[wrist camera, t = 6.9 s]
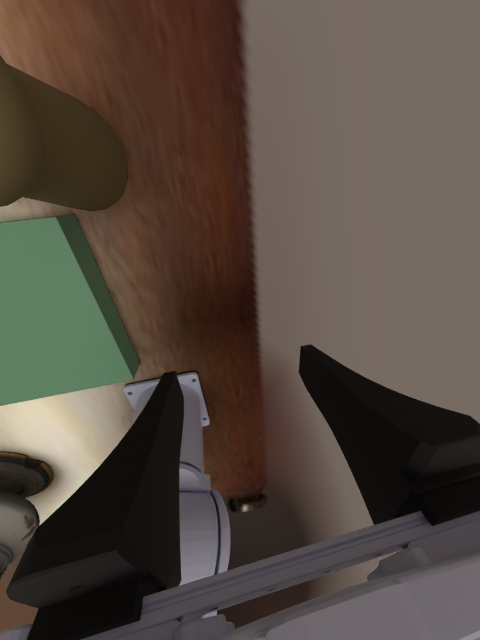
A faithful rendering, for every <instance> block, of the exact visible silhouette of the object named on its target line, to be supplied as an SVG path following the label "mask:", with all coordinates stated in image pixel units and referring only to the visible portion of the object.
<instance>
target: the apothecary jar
mask: <svg viewBox="0 0 480 640" xmlns="http://www.w3.org/2000/svg"><path fill="white" fill-rule="evenodd" d="M52 480H53V472H52V470H51V468H50V467H49V466H48V465H47V464H45V463H44V462H42V461H36V460H31V459H29V458H28V457H27V456H26V455H22V454H17V453H9V452H0V579H1V577H2V575H3V574H4V572H5V570H6V568H7V566H8V564H10V563H11V562H12V561H14V560H15V559H16V558H18V557H19V556H20V555H21V554H22V553H23V552H24V551H25V550H26V547H27V545H28V543H29V541H30V540H31V538H32V536H33V534H34V532H35V530H36V529H37V528H38V527H39V523H40V520H39V515H38V512H37V510H36V508H35V506H34V505H33V504H32V503H31V502H30V501H28V500H27V499H25V497H29V496H32V495H35V494H37V493H39V492H41V491H43V490H44V489H45V488H47V487H48V486H49V485H50V483H51V482H52Z"/></svg>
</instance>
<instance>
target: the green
mask: <svg viewBox="0 0 480 640" xmlns="http://www.w3.org/2000/svg"><path fill="white" fill-rule="evenodd" d="M139 363H140V362H139V360H138V358H137V356H136V353H135V351H134V349H133V346H132V344H131V342H130V339H129V337H128V335H127V333H126V330H125V328H124V326H123V323H122V321H121V319H120V316H119V314H118V312H117V310H116V307H115V305H114V303H113V300H112V298H111V296H110V293H109V291H108V289H107V287H106V284H105V282H104V280H103V277H102V275H101V273H100V270H99V268H98V266H97V264H96V261H95V259H94V257H93V254H92V252H91V250H90V247H89V245H88V243H87V241H86V238H85V236H84V234H83V231H82V229H81V227H80V225H79V222H78V220H77V218H76V215H75V214H74V215H65V216H55V217H46V218H36V219H27V220H17V221H8V222H0V406H2V405H7V404H12V403H17V402H23V401H28V400H33V399H38V398H43V397H48V396H53V395H58V394H64V393H69V392H74V391H79V390H84V389H89V388H94V387H99V386H104V385H110V384H115V383H120V382H125V381H130V380H134V378H135V375H136V372H137V369H138V366H139Z"/></svg>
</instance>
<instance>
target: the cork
mask: <svg viewBox="0 0 480 640" xmlns="http://www.w3.org/2000/svg"><path fill="white" fill-rule="evenodd" d="M127 179H128V174H127V160H126V157H125V154H124V151H123V148H122V145H121V143H120V141H119V140H118V138H117V136H116V135H115V133H114V131H113V130H112V128H111V127H110V125H109V124H108V123H107V122H106V121H105V120H104V119H103V118H102V117H101V116H100V115H99V114H98V113H97V112H96V111H95V110H94V109H92V108H90V107H89V106H87V105H86V104H84V103H82V102H81V101H79V100H78V99H76V98H74V97H72V96H70V95H68V94H66V93H64V92H62V91H60V90H58V89H56V88H54V87H52V86H50V85H48V84H46V83H44V82H42V81H40V80H38V79H36V78H34V77H32V76H30V75H28V74H26V73H24V72H22V71H20V70H18V69H16V68H14V67H12V66H10V65H8V64H6V63H5V61H4V60H3V58H2V57H1V56H0V206H7V205H9V204H11V203H13V202H15V201H17V200H18V199H20V198H21V197H25V198H30V199H34V200H39V201H44V202H48V203H53V204H58V205H62V206H67V207H72V208H76V209H82V210H88V211H96V210H102V209H106V208H108V207H110V206H111V205H113V204H115V203H116V202H117V201H118V200H119V198H120V197H121V195H122V194H123V193H124V190H125V186H126V183H127Z"/></svg>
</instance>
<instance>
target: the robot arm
mask: <svg viewBox="0 0 480 640" xmlns="http://www.w3.org/2000/svg"><path fill="white" fill-rule="evenodd" d="M299 374H300V376H301V378H302V380H303V383H304V385H305V387H306V388H307V390H308V392H309V393H310V395H311V397H312V399H313V400H314V402H315V403H316V405H317V407H318V408H319V410H320V411H321V413H322V414H323V416H324V418H325V419H326V421H327V423H328V425H329V426H330V428H331V430H332V432H333V434H334V436H335V438H336V440H337V442H338V444H339V446H340V448H341V450H342V452H343V454H344V456H345V458H346V460H347V463H348V465H349V467H350V469H351V472H352V474H353V476H354V478H355V480H356V483H357V485H358V487H359V489H360V492H361V494H362V497H363V499H364V501H365V504H366V506H367V509H368V511H369V514H370V516H371V518H372V521H373V524H374V525H373V526H370V527H367V528H363V529H360V530H357V531H354V532H351V533H347V534H344V535H341V536H338V537H335V538H331V539H328V540H325V541H322V542H318V543H315V544H312V545H309V546H305V547H302V548H299V549H296V550H293V551H289V552H286V553H283V554H280V555H277V556H274V557H270V558H267V559H264V560H260V561H257V562H254V563H251V564H248V565H244V566H241V567H238V568H235V569H231V570H228V571H227V568H228V562H229V554H230V525H229V518H228V513H227V509H226V506H225V504H224V502H223V499H222V497H221V495H220V493H219V492H218V491H217V490H215V489H211V488H210V475H207V474H204V457H203V431H202V427H203V426H207V425H209V424H210V420H209V416H208V413H207V409H206V405H205V401H204V397H203V393H202V390H201V386H200V382H199V378H198V374H197V373H196V372H190V373H185V374H180V375H177V374H176V371H172V372H167V373H164V374H163V375H162V377H161V378H160V379H155V380H150V381H145V382H140V383H135V384H130V385H126V386H125V387H124V393H125V395H126V396H127V398H128V400H129V402H130V404H131V406H132V408H133V410H134V414H133V417H132V421H131V425H130V428H129V431H128V432H127V433H126V435H125V436H124V437H123V439H122V440H121V441H120V442H119V444H118V445H117V446H116V447H115V449H114V450H113V451H112V452H111V453H110V455H109V456H108V457H107V458H106V459H105V461H104V462H103V463H102V464H101V465H100V466H99V467H98V469H97V470H96V471H95V472H94V473H93V474H92V475H91V476H90V477H89V478H88V479H87V480H86V481H85V482H84V483H83V485H82V486H81V487H80V488H79V489H78V490H77V491H76V492H75V493H74V494H73V495H72V496H71V497H70V498H69V499H68V500H67V501H66V502H65V503H63V504H62V505H61V506H60V507H59V508H58V509H57V510H56V511H55V512H54V513H53V514H52V515H51V516H50V517H49V518H48V519H46V520H45V521H44V522H43V523H42V524H41V525H40V526H39V527H38V528H37V529H36V530H35V532H34V534H33V536H32V538H31V540H30V541H29V543H28V545H27V547H26V550H25V552H24V554H23V556H22V558H21V560H20V562H19V564H18V567H17V569H16V571H15V573H14V575H13V577H12V579H11V582H10V584H9V586H8V588H7V590H6V592H7V595H8V597H9V599H11V600H14V601H16V602H19V603H23V604H26V605H29V606H33V607H36V608H39V609H38V612H37V615H36V617H35V620H34V623H33V624H28V625H21V626H17V627H14V628H10V629H7V630H4V631H0V640H474V639H477V638H479V637H480V424H479V423H478V422H477V421H476V420H474V419H473V418H472V417H471V416H468V415H465V414H461V413H458V412H454V411H450V410H447V409H444V408H440V407H437V406H434V405H431V404H428V403H425V402H422V401H419V400H416V399H414V398H411V397H408V396H406V395H403V394H401V393H398V392H396V391H393V390H391V389H388V388H386V387H384V386H382V385H380V384H378V383H375V382H373V381H371V380H369V379H367V378H365V377H363V376H361V375H360V374H358V373H356V372H354V371H352V370H350V369H349V368H347V367H345V366H344V365H342V364H340V363H339V362H337V361H336V360H334V359H332V358H331V357H329V356H328V355H326V354H325V353H323V352H322V351H320V350H318V349H317V348H315V347H314V346H312V345H306V346H301V350H300V365H299ZM192 379H195V380H192ZM130 392H132V393H130ZM402 549H403V550H402ZM399 550H401V551H399ZM396 551H399V552H397V553H395V554H393V555H391V556H389V557H387V558H384V559H382V560H380V561H379V566H378V567H377V568H376V569H375V570H374V571H373V572H372V573H370V574H369V575H368V577H367V579H368V581H367V582H364V583H361V584H357V585H354V586H351V587H348V588H344V589H341V590H338V591H335V592H332V593H329V594H326V595H323V596H320V597H318V598H315V599H312V600H309V601H306V602H304V603H301V604H298V605H296V606H293V607H290V608H287V609H285V610H282V611H280V612H277V613H275V614H272V615H270V616H267V617H265V618H262V619H259V620H257V621H254V622H252V623H249V624H247V625H245V626H242V627H240V628H237V629H234V624H233V623H232V622H226V617H225V616H224V615H223V614H221V615H217V610H220V609H223V608H226V607H229V606H232V605H235V604H238V603H241V602H245V601H247V600H250V599H253V598H257V597H259V596H263V595H265V594H269V593H272V592H275V591H277V590H281V589H284V588H287V587H289V586H293V585H296V584H299V583H302V582H305V581H308V580H311V579H314V578H317V577H320V576H323V575H326V574H329V573H332V572H335V571H338V570H341V569H344V568H347V567H350V566H353V565H356V564H359V563H362V562H365V561H368V560H372V559H375V558H377V557H380V556H384V555H386V554H390V553H393V552H396Z"/></svg>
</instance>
